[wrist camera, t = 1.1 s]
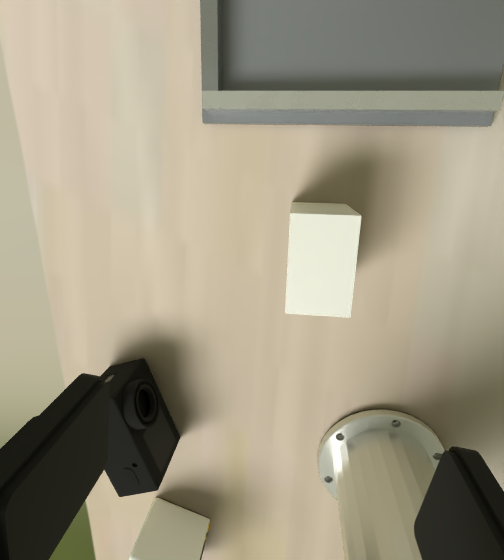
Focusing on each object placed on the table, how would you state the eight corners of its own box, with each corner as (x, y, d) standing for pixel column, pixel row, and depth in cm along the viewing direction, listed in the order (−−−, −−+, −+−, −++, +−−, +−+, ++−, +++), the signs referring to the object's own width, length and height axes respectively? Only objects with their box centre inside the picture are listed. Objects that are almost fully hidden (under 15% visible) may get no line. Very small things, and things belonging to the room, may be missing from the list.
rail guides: (528, -98, 23) (549, -122, 21) (486, 114, 27) (500, 110, 25) (205, -82, 25) (198, -102, 23) (208, 112, 29) (202, 108, 27)
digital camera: (191, 436, 40) (170, 490, 33) (147, 445, 41) (118, 499, 34) (155, 354, 37) (124, 395, 31) (109, 366, 38) (70, 408, 32)
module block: (345, 203, 31) (361, 215, 23) (337, 282, 33) (350, 317, 25) (291, 201, 31) (290, 213, 23) (287, 279, 33) (284, 313, 26)
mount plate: (534, -108, 23) (539, -115, 23) (487, 126, 28) (491, 125, 27) (200, -90, 26) (198, -96, 25) (204, 123, 30) (202, 123, 29)
